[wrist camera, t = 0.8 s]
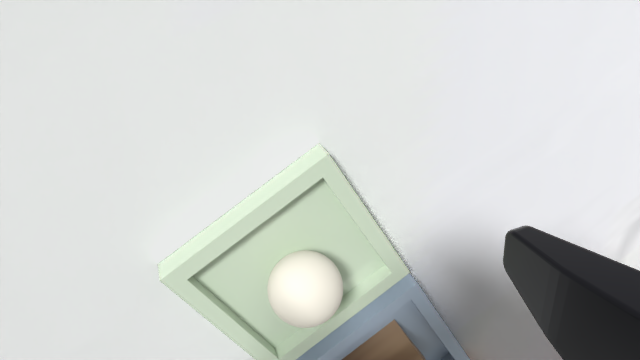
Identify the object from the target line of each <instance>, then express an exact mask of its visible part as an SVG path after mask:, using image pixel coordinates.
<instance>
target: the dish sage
mask: <svg viewBox="0 0 640 360" xmlns="http://www.w3.org/2000/svg"><path fill="white" fill-rule="evenodd" d="M300 250H311V251H315V252H318V253H321V254H323V255H325V256H326V257H328V258H329V259H330V260H331V261H332V262H333V263H334V264H335V265H336V267H337V268H338V270H339V272H340V274H341V277H342V281H343V297H342V300H341V303H340V306H339V308H338V309H337V311H336V312H335V314H334V315H333V316H332V317H331V318H330V319H329V320H327V321H326V322H325V323H323V324H321V325H318V326H316V327H311V328H299V327H295V326H292V325H289V324H288V323H286V322H284V321H283V320H282V319H280V318H279V317H278V316H277V315H276V313H275V312H274V310H273V309H272V307H271V305H270V302H269V299H268V292H267V286H268V280H269V277H270V274H271V272H272V270H273V268H274V267H275V265H276V264H277V263H278V262H279V261H280V260H281V259H282V258H283V257H285V256H286V255H288V254H290V253H293V252H296V251H300ZM158 271H159V279H160V281H161V282H162V283H163V284H164V285H165V286H167V287H168V288H169V289H170V290H172V291H173V292H174V293H175V294H176V295H178V296H179V297H180V298H181V299H182V300H184V301H185V302H186V303H187V304H189V305H190V306H191V307H192V308H193V309H195V310H196V311H197V312H198V313H199V314H201V315H202V316H203V317H204V318H206V319H207V320H208V321H209V322H210V323H212V324H213V325H214V326H215V327H216V328H218V329H219V330H220V331H221V332H223V333H224V334H225V335H226V336H227V337H229V338H230V339H231V340H232V341H233V342H235V343H236V344H237V345H238V346H240V347H241V348H242V349H243V350H244V351H246V352H247V353H248V354H249V355H250V356H252V357H253V358H254V359H255V360H296V359H297V358H299V357H300V356H301V355H303V354H304V353H305V352H307V351H308V350H309V349H310V348H312V347H313V346H314V345H316V344H317V343H318V342H320V341H321V340H322V339H324V338H325V337H326V336H328V335H329V334H330V333H331V332H333V331H334V330H335V329H337V328H338V327H339V326H341V325H342V324H343V323H345V322H346V321H347V320H349V319H350V318H351V317H353V316H354V315H355V314H356V313H358V312H359V311H360V310H362V309H363V308H364V307H366V306H367V305H368V304H370V303H371V302H372V301H374V300H375V299H376V298H377V297H379V296H380V295H381V294H383V293H384V292H385V291H387V290H388V289H389V288H391V287H392V286H393V285H395V284H396V283H397V282H398V281H400V280H401V279H402V278H404V277H405V276H406V275H408V274H409V273H410V271H409V270H408V268H407V267H406V265H405V264H404V263H403V261H402V260H401V258H400V257H399V255H398V254H397V252H396V251H395V249H394V248H393V246H392V245H391V244H390V242H389V241H388V239H387V238H386V236H385V235H384V233H383V232H382V230H381V229H380V228H379V226H378V225H377V223H376V222H375V220H374V219H373V217H372V216H371V214H370V213H369V211H368V210H367V209H366V207H365V206H364V204H363V203H362V201H361V200H360V198H359V197H358V195H357V194H356V193H355V191H354V190H353V188H352V187H351V185H350V184H349V182H348V181H347V179H346V178H345V176H344V175H343V174H342V172H341V171H340V169H339V168H338V166H337V165H336V163H335V162H334V160H333V159H332V158H331V156H330V155H329V153H328V152H327V151H326V150H325V149H324V148H323V147H322V146H321V145H320V144H317V145H316V146H315V147H313V148H312V149H311V150H310V151H308V152H307V153H306V154H304V155H303V156H302V157H300V158H299V159H298V160H296V161H295V162H294V163H292V164H291V165H290V166H288V167H287V168H286V169H284V170H283V171H282V172H280V173H279V174H278V175H276V176H275V177H274V178H272V179H271V180H270V181H268V182H267V183H266V184H264V185H263V186H262V187H260V188H259V189H258V190H256V191H255V192H254V193H252V194H251V195H250V196H248V197H247V198H246V199H244V200H243V201H242V202H240V203H239V204H238V205H236V206H235V207H234V208H232V209H231V210H230V211H228V212H227V213H226V214H224V215H223V216H222V217H220V218H219V219H218V220H216V221H215V222H214V223H212V224H211V225H210V226H208V227H207V228H206V229H204V230H203V231H202V232H200V233H199V234H198V235H196V236H195V237H194V238H192V239H191V240H190V241H188V242H187V243H186V244H184V245H183V246H182V247H180V248H179V249H178V250H176V251H175V252H174V253H172V254H171V255H170V256H168V257H167V258H166V259H164V260H163V261H162V262H160V263H159V264H158Z"/></svg>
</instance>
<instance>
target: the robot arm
mask: <svg viewBox="0 0 640 360" xmlns="http://www.w3.org/2000/svg"><path fill="white" fill-rule="evenodd" d="M503 264H504V268H505V270H506V272H507V274H508V276H509V277H510V279H511V280H512V282H513V284H514V285H515V287H516V289H517V290H518V292H519V294H520V295H521V297H522V298H523V300H524V302H525V303H526V305H527V307H528V308H529V310H530V312H531V313H532V315H533V316H534V318H535V320H536V321H537V323H538V325H539V326H540V328H541V329H542V331H543V332H544V334H545V336H546V337H547V338H548V340H549V341H550V343H551V344H552V345H553V347H554V348H555V349H556V351H557V352H558V353H559V355H560V356H561V357H562V359H563V360H640V271H639V270H636V269H634V268H632V267H629V266H627V265H624V264H622V263H619V262H617V261H614V260H612V259H609V258H607V257H604V256H602V255H600V254H597V253H595V252H592V251H590V250H587V249H585V248H582V247H580V246H577V245H575V244H572V243H570V242H568V241H565V240H563V239H560V238H558V237H555V236H553V235H550V234H548V233H545V232H543V231H541V230H538V229H536V228H533V227H530V226H522V227H519V228H516V229H513V230H510V231H508V232H507V234H506V237H505V246H504V256H503Z"/></svg>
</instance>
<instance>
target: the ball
mask: <svg viewBox="0 0 640 360" xmlns="http://www.w3.org/2000/svg"><path fill="white" fill-rule="evenodd" d="M267 292H268V299H269V302H270V305H271V307H272V309H273V310H274V312H275V313H276V315H277V316H278V317H279V318H280V319H282V320H283V321H284V322H286V323H288V324H289V325H292V326H295V327H299V328H311V327H316V326H318V325H321V324H323V323H325V322H326V321H327V320H329V319H330V318H331V317H332V316H333V315H334V314H335V312H336V311H337V309H338V308H339V306H340V303H341V300H342V297H343V281H342V277H341V274H340V272H339V270H338V268H337V267H336V265H335V264H334V263H333V262H332V261H331V260H330V259H329V258H328V257H326V256H325V255H323V254H321V253H318V252H315V251H311V250H300V251H296V252H293V253H290V254H288V255H286V256H285V257H283V258H282V259H281V260H280V261H279V262H278V263H277V264H276V265H275V267H274V268H273V270H272V272H271V274H270V277H269V280H268V286H267Z"/></svg>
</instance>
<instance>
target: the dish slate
mask: <svg viewBox="0 0 640 360" xmlns="http://www.w3.org/2000/svg"><path fill="white" fill-rule="evenodd" d="M393 320H395V321H396V322H397V323H398V325H399V326H400V327H401V328H402V330H403V331H404V332H405V333H406V335H407V336H408V337H409V338H410V340H411V341H412V342H413V343H414V345H415V346H416V347H417V348H418V350H419V351H420V352H421V354H422V355H423V356H424V357H425V359H426V360H470V359H469V357H468V356H467V354H466V353H465V352H464V350H463V349H462V347H461V346H460V344H459V343H458V341H457V340H456V338H455V337H454V335H453V334H452V333H451V331H450V330H449V328H448V327H447V325H446V324H445V322H444V321H443V319H442V318H441V317H440V315H439V314H438V312H437V311H436V309H435V308H434V306H433V305H432V303H431V302H430V300H429V299H428V298H427V296H426V295H425V293H424V292H423V290H422V289H421V287H420V286H419V284H418V283H417V282H416V281H415V279H414V278H413V277H412V276H411V275H410V273H409V274H408V275H406V276H405V277H404V278H402V279H401V280H400V281H398V282H397V283H396V284H395V285H393V286H392V287H391V288H389V289H388V290H387V291H385V292H384V293H383V294H381V295H380V296H379V297H377V298H376V299H375V300H374V301H372V302H371V303H370V304H368V305H367V306H366V307H364V308H363V309H362V310H360V311H359V312H358V313H356V314H355V315H354V316H353V317H351V318H350V319H349V320H347V321H346V322H345V323H343V324H342V325H341V326H339V327H338V328H337V329H335V330H334V331H333V332H331V333H330V334H329V335H328V336H326V337H325V338H324V339H322V340H321V341H320V342H318V343H317V344H316V345H314V346H313V347H312V348H310V349H309V350H308V351H307V352H305V353H304V354H303V355H301V356H300V357H299V358H297V359H296V360H342V359H343V358H344V357H346V356H347V355H348V354H350V353H351V352H352V351H354V350H355V349H356V348H357V347H359V346H360V345H361V344H363V343H364V342H365V341H367V340H368V339H369V338H371V337H372V336H373V335H375V334H376V333H377V332H378V331H380V330H381V329H382V328H384V327H385V326H386V325H388V324H389V323H390V322H392V321H393Z"/></svg>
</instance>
